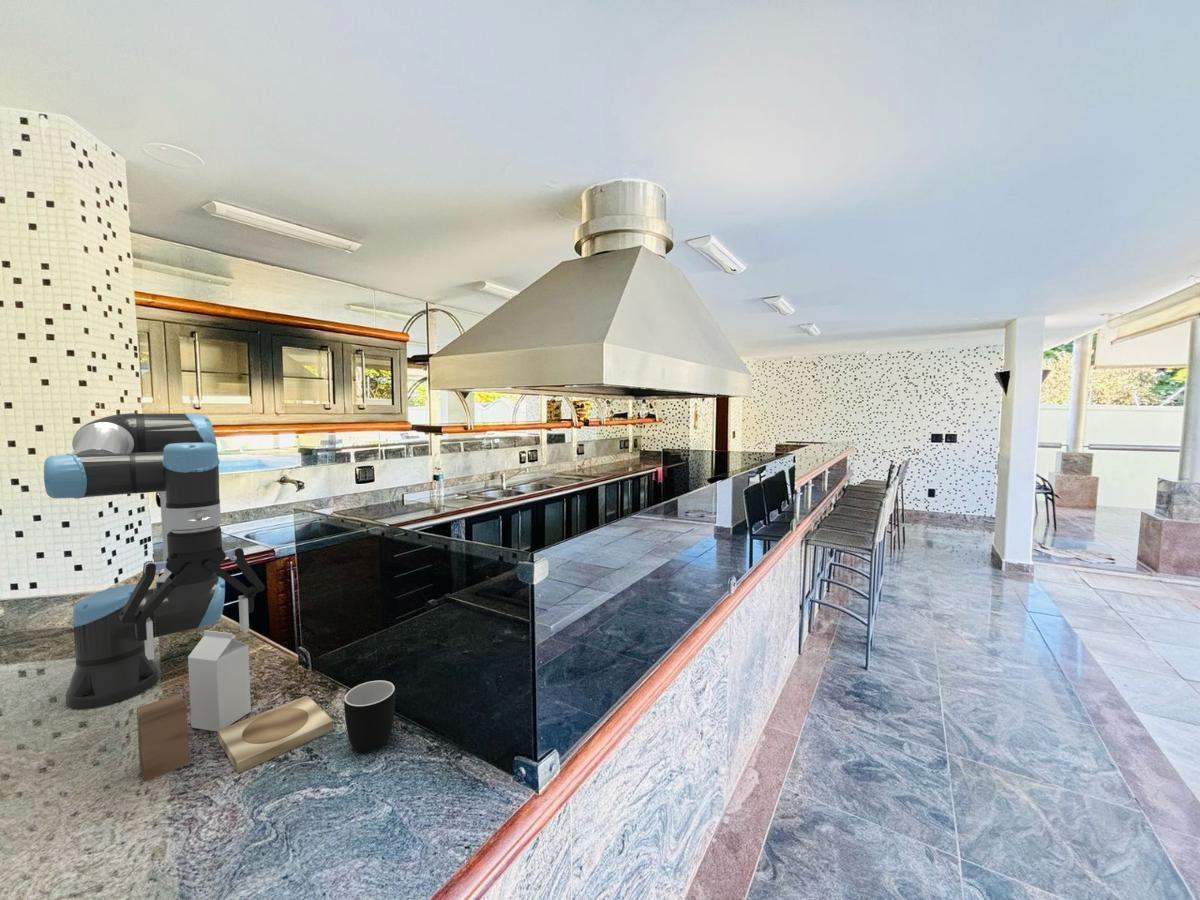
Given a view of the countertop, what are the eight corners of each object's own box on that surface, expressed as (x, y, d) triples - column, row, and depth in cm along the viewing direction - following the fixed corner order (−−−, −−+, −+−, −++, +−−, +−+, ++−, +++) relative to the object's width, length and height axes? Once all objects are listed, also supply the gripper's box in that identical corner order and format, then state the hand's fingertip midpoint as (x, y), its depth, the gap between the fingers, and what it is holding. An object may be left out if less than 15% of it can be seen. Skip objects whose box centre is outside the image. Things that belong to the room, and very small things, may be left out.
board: (217, 740, 95) (217, 729, 95) (307, 703, 107) (307, 694, 107) (238, 773, 86) (237, 762, 86) (333, 730, 98) (333, 719, 98)
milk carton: (219, 732, 97) (215, 641, 96) (190, 728, 98) (186, 637, 97) (251, 712, 104) (248, 626, 103) (224, 708, 105) (220, 623, 104)
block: (139, 766, 88) (136, 707, 87) (182, 749, 92) (179, 693, 92) (144, 782, 84) (141, 721, 83) (189, 763, 88) (186, 705, 88)
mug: (405, 737, 96) (404, 687, 96) (364, 764, 88) (362, 711, 88) (368, 718, 102) (367, 671, 102) (326, 742, 94) (324, 692, 94)
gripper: (98, 545, 75) (106, 678, 76) (281, 520, 94) (284, 625, 96) (92, 538, 79) (99, 662, 81) (267, 515, 99) (271, 615, 100)
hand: (200, 642), depth 88 cm, fingers open, 13 cm apart
